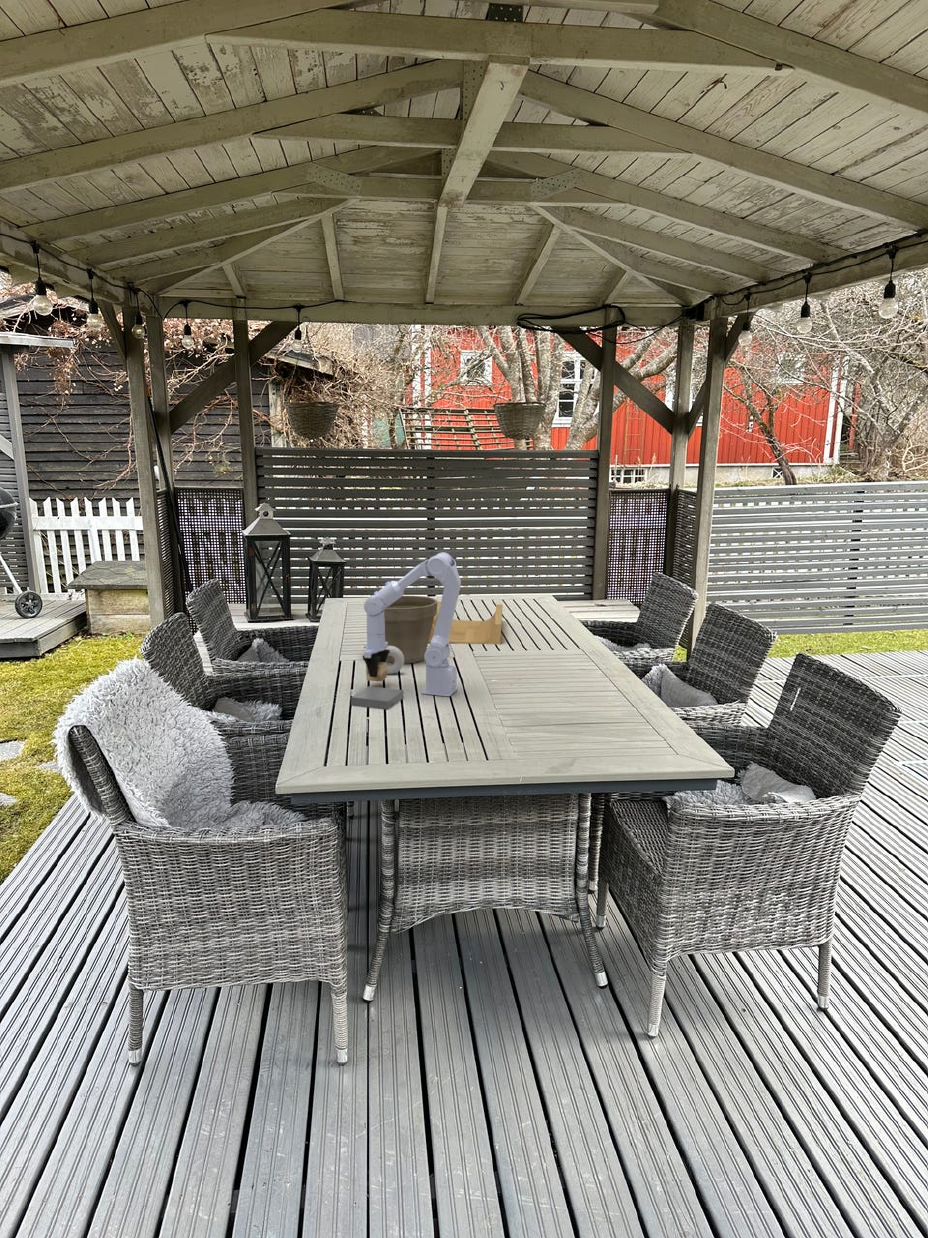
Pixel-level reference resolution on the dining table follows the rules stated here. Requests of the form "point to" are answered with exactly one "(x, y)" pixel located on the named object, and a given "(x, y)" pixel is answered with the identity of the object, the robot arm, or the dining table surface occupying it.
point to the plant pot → (409, 626)
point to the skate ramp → (474, 629)
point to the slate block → (377, 697)
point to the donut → (398, 660)
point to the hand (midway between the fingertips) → (376, 674)
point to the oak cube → (380, 674)
